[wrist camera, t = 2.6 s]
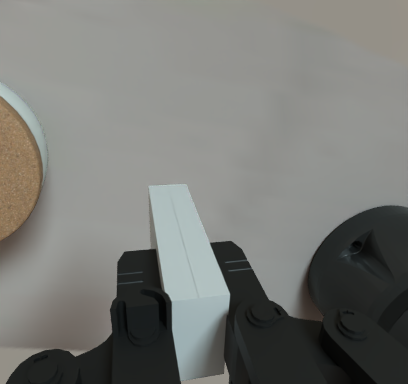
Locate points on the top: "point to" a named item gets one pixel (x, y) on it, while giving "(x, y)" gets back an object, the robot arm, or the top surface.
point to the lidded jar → (19, 160)
